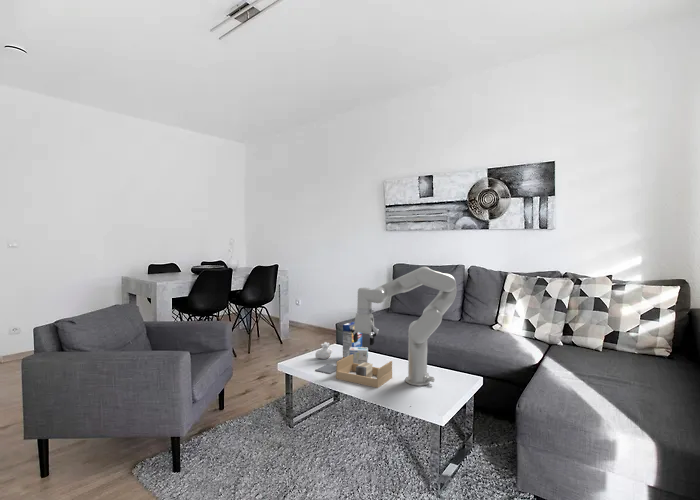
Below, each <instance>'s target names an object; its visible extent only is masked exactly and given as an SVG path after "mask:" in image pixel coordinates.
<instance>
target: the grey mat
mask: <svg viewBox="0 0 700 500" xmlns="http://www.w3.org/2000/svg"><path fill="white" fill-rule="evenodd" d="M318 371H319V373H323V372H324V373H325V374H328V375H331V374H333V373H335V372H336V365H333V364H328V363H327V364H324V365H322V366H321V367H319V368H317V369H315V372H318Z"/></svg>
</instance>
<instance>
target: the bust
mask: <svg viewBox="0 0 700 500" xmlns="http://www.w3.org/2000/svg"><path fill="white" fill-rule="evenodd" d="M320 345H321V347H322V348H321V349H318V350H317V351H316V352H315V359H317V360H318V359H321V360H327V359H329V358H330V357H331V355H332V353H333V349H332V348H331V347H330V342H327V341H324V343H321V344H320Z"/></svg>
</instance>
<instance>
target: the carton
mask: <svg viewBox="0 0 700 500" xmlns="http://www.w3.org/2000/svg"><path fill="white" fill-rule="evenodd" d="M335 364H336V365H335V366H336V371H335V372H336V373H335V379H336V380H341V381H345V382H349V383H355V384H359V385H363V386H367V387H368V386H369V387H373V388H377V389H379V388H380V387H382V386H383V385H384V384H385V383H387V382H389V381H391V379H393V360H391V361H389V362H387V363H385V364H384V365H382V366H381V367H377V366H372V376H376V378H374V377H371V378H370V377H365V376H360V375H356V373H355V374H354V373H351V372H352V371H353V372H356V367H357V366H358V365H360V364H356V363H353V354H351V355H349V356H347V357H345V358H343V357H342V359H339V360H338V361H336V363H335Z"/></svg>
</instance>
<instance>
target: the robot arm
mask: <svg viewBox="0 0 700 500" xmlns="http://www.w3.org/2000/svg"><path fill="white" fill-rule="evenodd" d="M456 281H457V280H456V279H455V277H454V276H453V275H452V274H450V273H447V272H446V273H443V272H440V271H436V270H433V269H431V268H429V267H428V266H421V267H418V268H416V269H414V270H412V271H410V272H408V273H406V274H404V275H401V276H399V277H397V278H395V279H393V280H390V281H388V282H386V283H384V284H382V285H380V286H378V287H376V288H373V289H372V288H370V287H360V288H358V289H357V301H356V302H357V303H356V304H357V307H356V308H357V309H356V310H357V311H356V313H355V318H354V322H355V324H353V325H350V326H349V327H350V329H351V332H352V333H353V335H354V336H353V340H354V343H355V342H357V341H358V334H357V333H358V332H360V333H362V334H368V335H369V346H373V345H374V344H375V337H376V336H377V335H378V334H379V331H380V330H379V329H378V328H377V327H376V326H375V318H374V314H372V313H374V311H375V310H373V308H372V307H373V306H372V305H373V304H372V303H374V304H382V303H384V302H385V301H386V299H389V298H391V297H393V296H396V295H398V294H401V293H403V294H404V293H408V292H410V291H412V290H414V289H416V288H418V287H420V286H425V287H429V288H432V289H434V290H437V291H438V293H437V294H436V296H435V297H434V298H433V300H431V302H430V303H429V304H428V305H427V306H426V307H425V308H424V309H423V312H422V315H421V316H420V317H419V318H418V319H417V320H414V321H412V322H411V323H409V326H408V332H407V333H408V334H407V335H408V352H407V353H408V355H407V356H408V357H407V358H408V359H407V360H408V362H407V364H408V367H407V368H408V370H407V371H408V373H407V376H406V377H405V379H404V380H405V383H406V384H409V385H412V386H418V387H421V386H422V387H423V386H427V385H429V384H430V383H431V382H432V383H434V382H435V377H434V376H430V375H429V372H428V339H429V338H430V337H431V335H432V334H433V333H434V332H435V331H436V330H437V329H438V327H439V326H440V325H441V323H442V321H443V316H444V315H445V313H446V312H447V311H448V310H449V308H450V307H451V306H452V305H453V303H454V302H455V299H456V297H457V293H458V291H457V288H458V287H457V282H456ZM353 327H354V329H353Z"/></svg>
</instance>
